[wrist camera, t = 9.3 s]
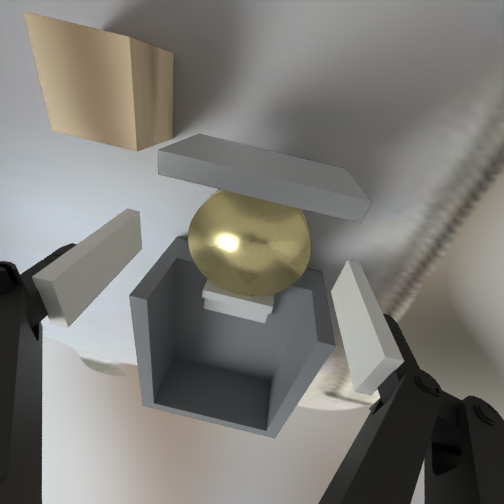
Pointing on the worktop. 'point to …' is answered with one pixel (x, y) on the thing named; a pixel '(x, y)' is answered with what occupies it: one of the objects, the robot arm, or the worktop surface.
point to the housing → (226, 348)
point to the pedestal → (103, 83)
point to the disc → (249, 243)
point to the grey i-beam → (261, 194)
